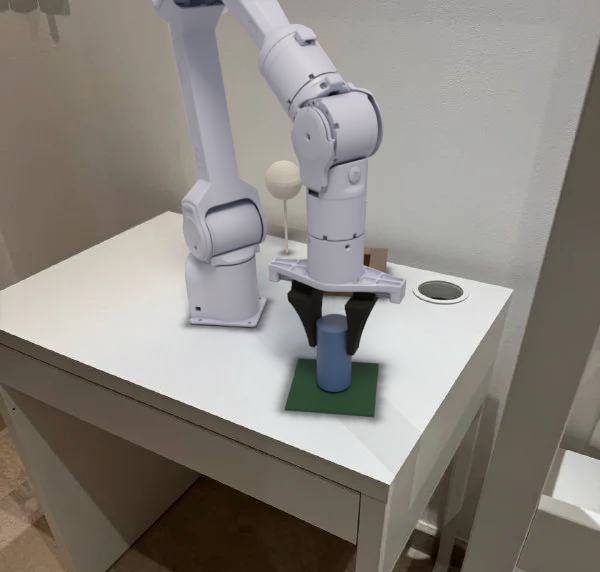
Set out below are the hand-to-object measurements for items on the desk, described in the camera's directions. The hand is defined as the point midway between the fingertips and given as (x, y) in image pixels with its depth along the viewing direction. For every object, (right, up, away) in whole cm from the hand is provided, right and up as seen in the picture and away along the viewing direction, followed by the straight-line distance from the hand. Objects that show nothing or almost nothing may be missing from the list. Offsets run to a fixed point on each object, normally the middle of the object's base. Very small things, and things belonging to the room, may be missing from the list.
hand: (334, 346), depth 66 cm
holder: (+4, +12, +25) cm, 28 cm away
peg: (0, -4, +3) cm, 5 cm away
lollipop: (-6, +19, +34) cm, 39 cm away
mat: (0, -4, +4) cm, 6 cm away
